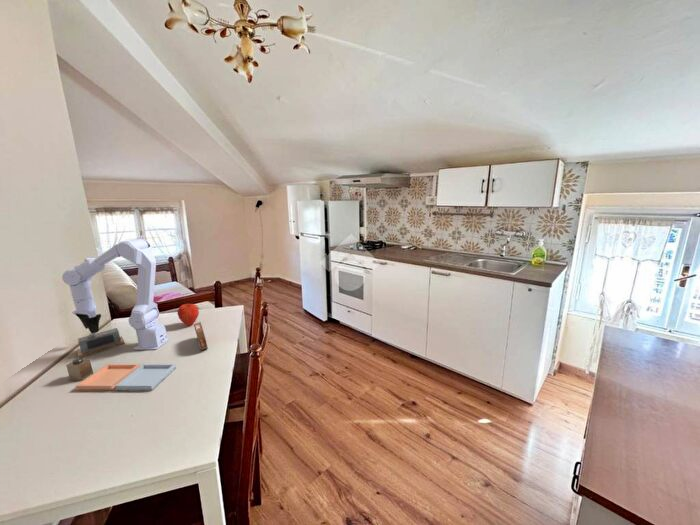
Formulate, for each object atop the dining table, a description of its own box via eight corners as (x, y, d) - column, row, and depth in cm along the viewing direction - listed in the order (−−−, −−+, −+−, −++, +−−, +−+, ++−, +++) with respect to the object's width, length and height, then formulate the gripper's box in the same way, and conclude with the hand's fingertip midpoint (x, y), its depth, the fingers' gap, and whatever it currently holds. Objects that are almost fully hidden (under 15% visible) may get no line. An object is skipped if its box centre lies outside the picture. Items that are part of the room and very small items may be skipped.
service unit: (125, 343, 115) (121, 330, 114) (79, 358, 106) (75, 344, 104) (122, 338, 120) (119, 325, 119) (77, 351, 110) (74, 338, 109)
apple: (203, 320, 136) (200, 300, 133) (195, 328, 127) (191, 307, 125) (185, 321, 135) (182, 301, 133) (176, 329, 127) (172, 307, 125)
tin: (208, 351, 108) (205, 332, 106) (199, 354, 106) (196, 334, 104) (204, 336, 120) (201, 318, 118) (196, 338, 119) (193, 320, 117)
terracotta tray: (140, 368, 98) (139, 363, 98) (112, 390, 87) (110, 385, 86) (109, 368, 98) (108, 364, 98) (77, 390, 87) (75, 385, 87)
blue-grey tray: (176, 368, 97) (175, 363, 97) (152, 390, 86) (151, 385, 86) (144, 368, 98) (143, 363, 98) (116, 390, 87) (115, 385, 86)
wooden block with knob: (93, 373, 96) (88, 356, 94) (82, 380, 92) (77, 363, 90) (82, 373, 96) (77, 356, 94) (70, 380, 92) (65, 363, 91)
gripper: (64, 298, 109) (73, 329, 112) (74, 305, 101) (83, 338, 104) (88, 292, 114) (96, 322, 118) (99, 299, 106) (107, 331, 109)
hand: (92, 329), depth 111 cm, fingers open, 7 cm apart
